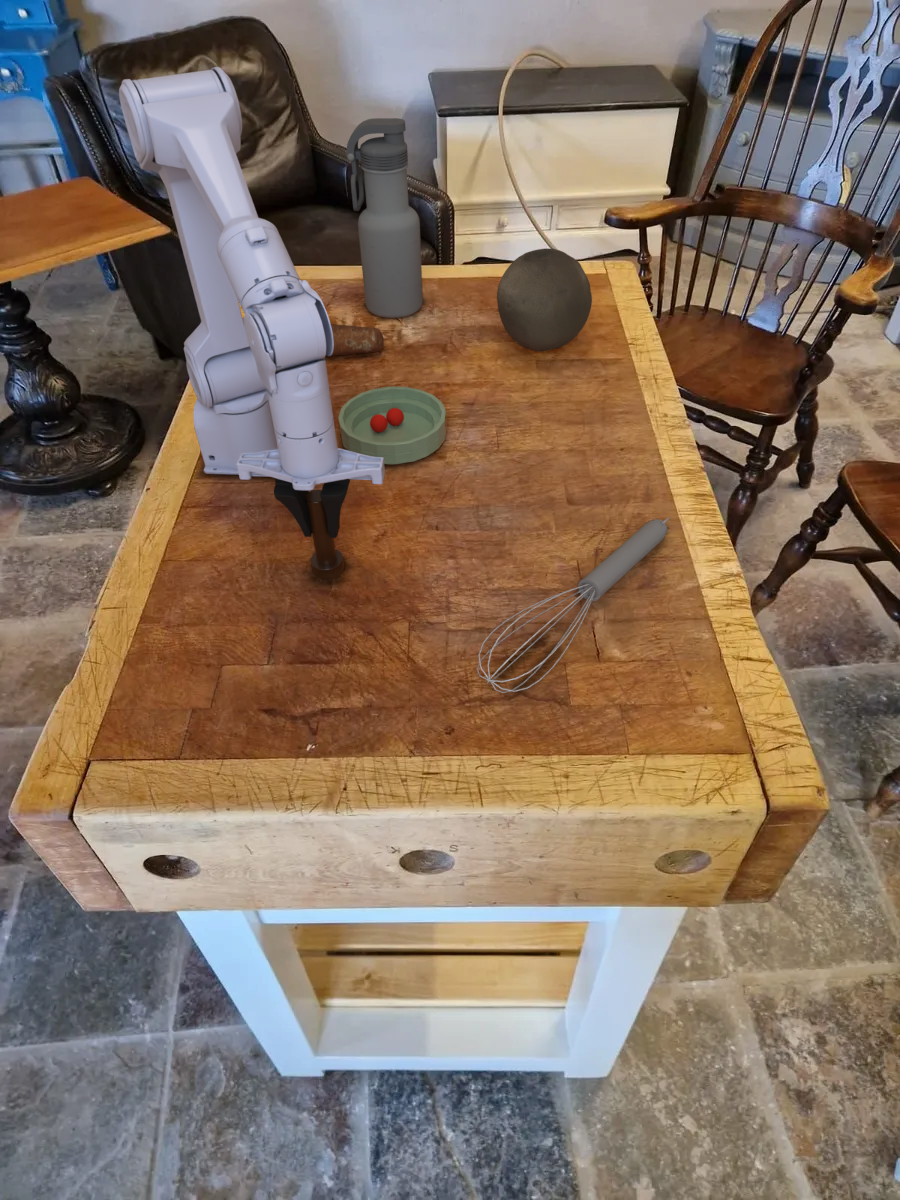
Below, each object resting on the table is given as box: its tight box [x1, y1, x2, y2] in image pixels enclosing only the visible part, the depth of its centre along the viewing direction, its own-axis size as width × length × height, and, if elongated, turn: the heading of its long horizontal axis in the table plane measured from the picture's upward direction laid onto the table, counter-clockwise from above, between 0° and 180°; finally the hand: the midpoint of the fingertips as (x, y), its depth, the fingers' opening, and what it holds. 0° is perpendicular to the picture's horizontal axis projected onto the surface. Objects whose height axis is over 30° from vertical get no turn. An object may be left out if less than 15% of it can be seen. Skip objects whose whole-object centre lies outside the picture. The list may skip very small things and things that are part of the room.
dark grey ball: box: [496, 247, 593, 353], centre depth 120 cm, size 14×14×15 cm
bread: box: [325, 323, 385, 357], centre depth 123 cm, size 6×19×6 cm, turn 91°
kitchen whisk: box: [476, 516, 671, 694], centre depth 83 cm, size 6×34×6 cm, turn 140°
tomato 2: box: [386, 408, 404, 426], centre depth 109 cm, size 2×2×2 cm
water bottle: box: [346, 117, 424, 319], centre depth 126 cm, size 10×10×28 cm
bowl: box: [337, 386, 447, 465], centre depth 107 cm, size 14×14×4 cm
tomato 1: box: [370, 414, 388, 432], centre depth 108 cm, size 2×2×2 cm
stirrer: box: [306, 488, 345, 580], centre depth 86 cm, size 4×4×10 cm
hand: (322, 531), depth 86 cm, fingers closed on stirrer, 2 cm apart
